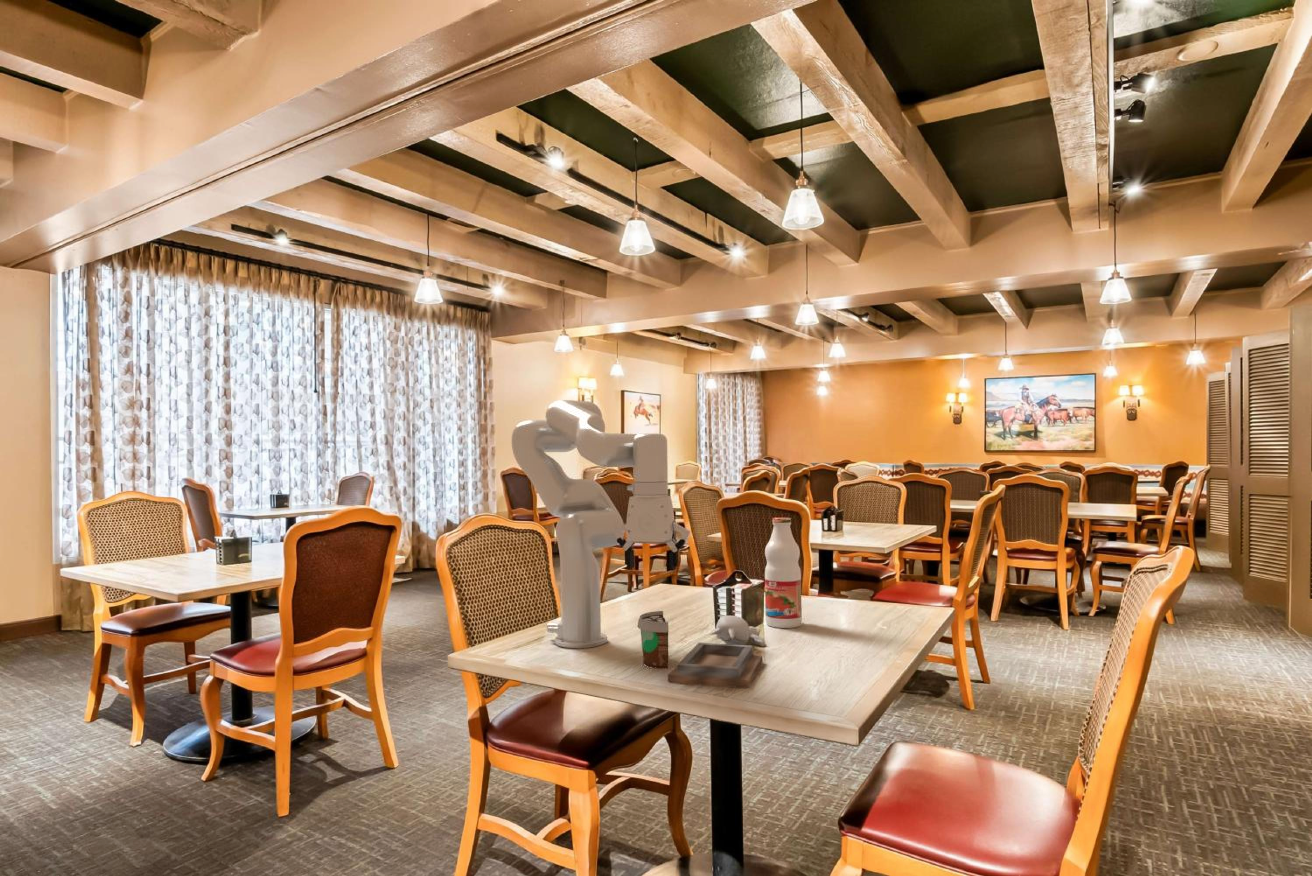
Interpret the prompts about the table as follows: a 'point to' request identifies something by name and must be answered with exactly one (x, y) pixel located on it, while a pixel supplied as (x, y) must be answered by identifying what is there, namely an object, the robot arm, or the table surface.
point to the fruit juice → (782, 577)
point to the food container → (654, 639)
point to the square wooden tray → (717, 666)
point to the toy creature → (736, 631)
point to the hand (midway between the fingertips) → (651, 569)
